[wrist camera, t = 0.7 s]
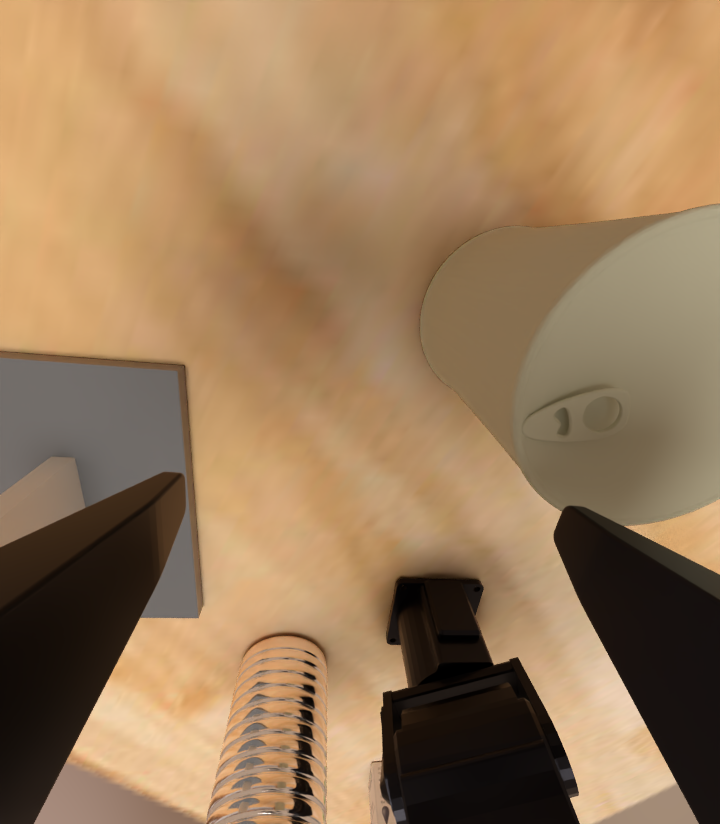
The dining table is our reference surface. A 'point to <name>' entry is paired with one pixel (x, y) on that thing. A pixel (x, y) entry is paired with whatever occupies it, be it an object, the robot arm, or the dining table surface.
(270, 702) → the water bottle
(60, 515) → the tile
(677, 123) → the dining table surface
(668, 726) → the robot arm
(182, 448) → the board
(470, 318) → the can
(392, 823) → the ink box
